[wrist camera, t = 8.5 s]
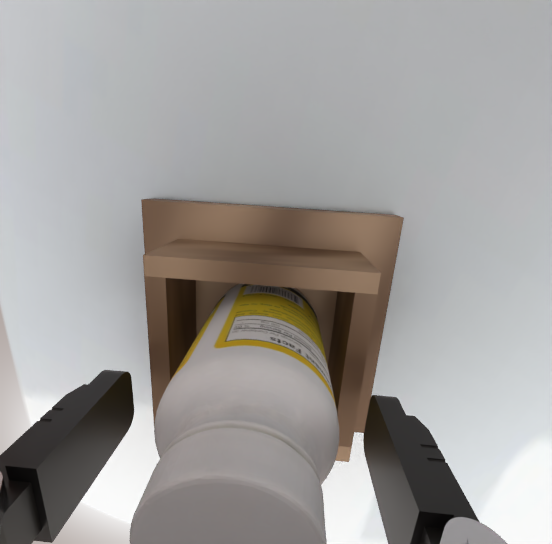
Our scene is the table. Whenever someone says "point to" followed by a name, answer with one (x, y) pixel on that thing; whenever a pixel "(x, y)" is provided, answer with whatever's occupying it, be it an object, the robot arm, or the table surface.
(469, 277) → the table surface
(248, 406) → the supplement bottle
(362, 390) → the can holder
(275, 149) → the table surface
